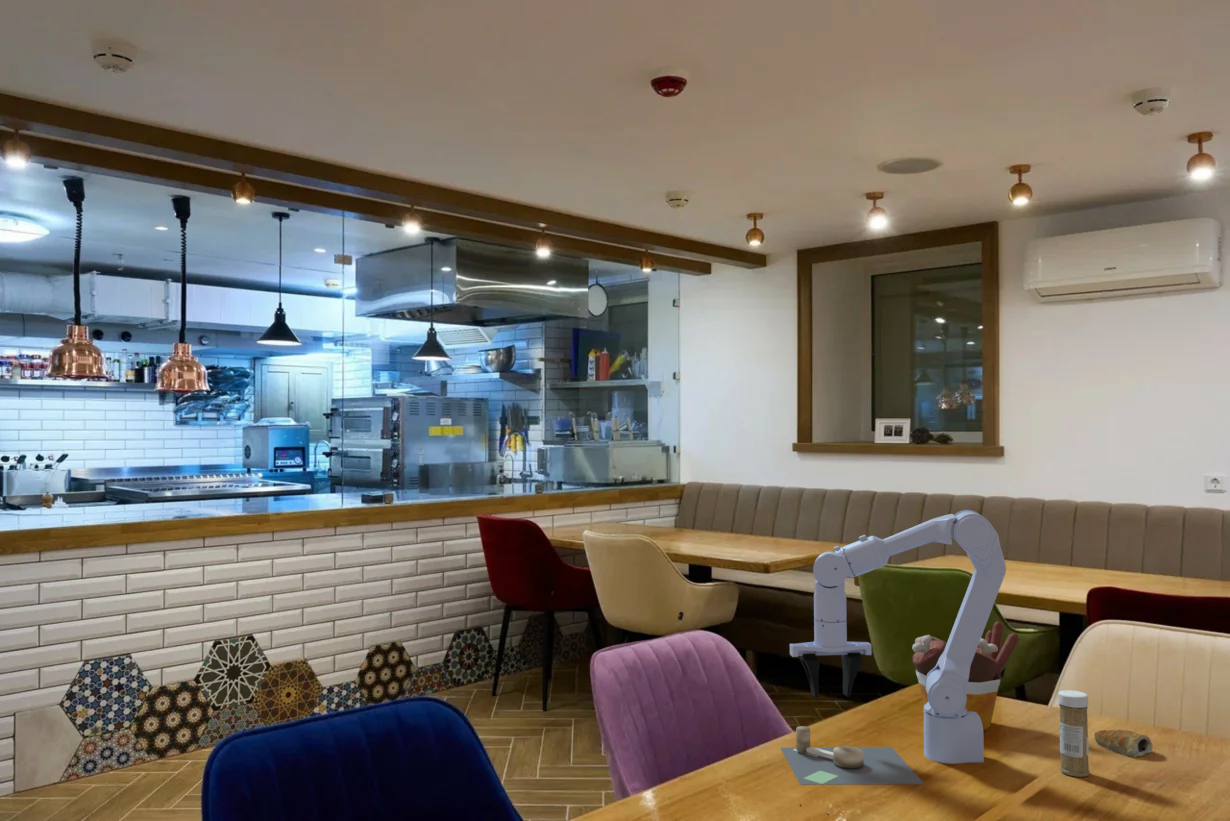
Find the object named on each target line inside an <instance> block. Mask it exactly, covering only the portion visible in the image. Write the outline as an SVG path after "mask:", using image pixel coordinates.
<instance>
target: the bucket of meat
mask: <svg viewBox="0 0 1230 821" xmlns="http://www.w3.org/2000/svg"><path fill="white" fill-rule="evenodd" d="M1004 629H1005V628H1004V624H1003V623H1002V622H1000V621H995V622H994V623H993V624H992V630H991V629H989V630H988V631H987V632H986V633H985V638H982V637H981V639H980V642H979V644H978V647H977V650H976V652H975V655H974V658H973V660H972V663H971V666H970V673H969V679H968V683H967V685H966V697H967V701H966V705H965V708H966V709H967V711H971V712H976V713H977V714H978V715H979V717H980V719H981V722H982V726H983V732H984V731H985V730H986V731H987V730H988V729H989V728H990V727H991V725H992V720H993V715H994V710H995V706H996V700H997V697H998V691H999V687H1000V684H1001V676H1002V672H1003V670H1004V669H1005V667H1006V665H1007V664H1008V662H1009V660H1010V658H1011V656H1012V654H1013V652H1014V650H1015V649H1016V646H1017V645H1018V643H1019V640H1020V638H1019V634H1017V633H1016V632H1015V633H1014V632H1012V633H1010V634H1008V635H1007V638H1006V639H1005V641H1004V644H1003V645H1002V642H1003V641H1002V640H1003V635H1004ZM946 644H947V642H946V641H945V640H943V639H939V638H938V637H935V636H931V635H930V634H926V635H923V636H919V637H917V638H915V640H914V643H913V644H912V648H911V649H912V651H913V652H914V653H913V655H912V664H913V666H914V667H915V674H916V677H917V681H918V684H919V688H920V694H921V698H922V702H923V706H924V705H926V704H927V702H928V694H927V692H926V689H925V678H926V676H927V674H928V673H929V672H930V671H931V670H932V669H933V668H934V667H935V666H936V664H937V662H938V659H939V658H940V656H941V655H942V653H943V652H944V650H945V647H946Z"/></svg>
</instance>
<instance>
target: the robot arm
mask: <svg viewBox="0 0 1230 821" xmlns="http://www.w3.org/2000/svg"><path fill="white" fill-rule="evenodd" d="M952 539H953V540H955V542H956V543H957V544H958V545H959V546H960V547H961V548H962V549H963V551H964V552H966V555H967V557H968V559H969V560H970V562H971V564H972V565H973V568H974V569H973V570H974V571H973V573H972V576H971V578H970V580H969V584H968V586H967V589H966V592H965V595H964V597H963V599H962V602H961V604H960V608H959V609H958V612H957V616H956V618H955V621H954V624H953V626H952V629H951V632H950V633H949V637H948V639H947V642H946V643H947V644H946V647H945V650H944V652H943V653H942V655H941V656H940V658H939V659H938V662H937V664H936V666H935V667H934V668H933V669H932V670H931V671H930V672H929V673H928V674H927V676H926V678H925V689H926V692H927V694H928V702H927V704H926V705H924V704H923V754H924V757H925V758H926V759H928V760H930V761H933V762H937V763H939V764H940V763H941V764H948V765H949V764H950V765H951V764H952V765H953V764H955V765H956V764H965V763H984V762H985V761H984V760H985V759H984V758H985V757H984V756H985V755H984V752H985V751H984V749H985V747H984V746H985V745H984V742H985V741H984V731H983V726H982V722H981V719H980V717H979V715H978V714H977V713H976V712H971V711H967V709H966V708H965V705H966V701H967V697H966V685H967V683H968V679H969V673H970V666H971V663H972V660H973V658H974V655H975V652H976V650H977V647H978V644H979V642H980V639H981V638H982V636H983V633H984V630H985V629H986V626H987V623H988V621H989V618H990V616H991V612H992V611H993V610H992V609H993V607H994V605H995V603H996V599H997V596H998V594H999V591H1000V588H1001V587H1002V584H1003V581H1004V579H1005V575H1006V574H1007V573H1006V572H1007V565H1006V561H1005V558H1004V554H1003V551H1002V550H1003V549H1002V548H1001V547H1002V546H1001V543H1000V536H999V533H998V532H997V531H996V529H995V528H994V527H993V525H992V523H991V522H990V521H989V520H988V519H987V518H986V517H985V516H983V515H981V514H980V513H978V512H977V511H975V510H971V509H963V510H960V511H958V512H956V513H955V514H953V513H949V514H945V515H942V516H938V517H934V518H932V519H929V520H927V521H924V522H921V523H920V524H917V525H915V526H912V527H910V528H907V529H905V530H902V531H901V532H897V533H895V534H893V535H890V536H888V537H885V538H879V537H878V536H876V535H870V536H867V535H866V534H863V535H860V536H858V540H856V541H854V542H851V543H848V544H847V545H843V546H841V547H840V545H836V546H834V547H833V551H825V552H823V553H822V552H821V553H820V554H819V555H818V556H817V557H816V559H815V561H814V563H813V566H812V568H813V569H812V573H813V576H814V578H815V580H814V586H813V587H814V591H815V592H814V593H813V617H814V618H813V624H814V625H813V632H814V634H813V636H814V638H813V641H810V642H809V641H808V642H799V643H789V655H790V656H791V657H792V658H798V659H799V660H800V663H801V665H802V666H803V669H804V671H805V673H806V676H807V680H808V683H809V687H810V693H811V696H812V697H814V698H816V699H817V698H819V695H820V689H819V688H820V687H819V684H820V683H819V678H820V677H819V676H820V665H821V662H820V660H818V657H817V656H840V659H841V665H842V666H841V667H842V694H843V695H844V696H846V697H851V696H852V690H853V686H854V682H855V678H856V677H857V675H858V672H859V670H860V668H861V667H862V664H863V661H864V658H863V657H862V655H865V656H872V644H871V643H870V642H868V641H847V640H848V639H847V638H848V633H847V632H848V631H847V630H848V628H847V625H848V624H847V594H846V592H845V582H846V581H845V580H846V578H852V579H853V578H856V577H858V576H861V575H864V574H866V573H867V574H868V573H869V572H871V571H874V570H878V569H880V568H883V567H886V565H887V564H888V561H889V559H890V557H891V556H894V555H897V554H900V553H903V552H907V551H909V550H912V549H915V548H919V547H922V546H924V545H928V544H930V543H939V544H940V543H941V544H945V545H950V546H952V545H953V541H952Z"/></svg>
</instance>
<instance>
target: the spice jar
mask: <svg viewBox="0 0 1230 821" xmlns="http://www.w3.org/2000/svg"><path fill="white" fill-rule="evenodd" d="M1057 695H1058V706H1059V752H1060V766H1059V770H1060V772H1061V773H1063V774H1065V775H1068V776H1070V777H1074V778H1075V777H1077V778H1083V777H1088V776H1089V774H1090V769H1089V764H1090V763H1089V755H1090V750H1089V748H1090V746H1089V736H1088V735H1089V733H1088V732H1089V730H1088V729H1089V728H1088V726H1089V724H1088V722H1089V721H1088V720H1089V719H1088V706H1089V695H1088V694H1087V693H1085V692H1082V691H1078V690H1070V689H1069V690H1067V689H1065V690H1061V691H1059V692H1058V694H1057Z"/></svg>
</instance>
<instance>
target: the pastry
mask: <svg viewBox="0 0 1230 821" xmlns="http://www.w3.org/2000/svg"><path fill="white" fill-rule="evenodd" d="M1093 736H1094V740H1095V741H1096V743H1097V744H1098V745H1099V746H1101V745H1102V746H1101V747H1103V748H1104V747H1105V749H1106V748H1107V749H1106V750H1108V749H1109V750H1108V751H1111V750H1112V751H1111V752H1113V751H1114V753H1116V752H1117V754H1119V753H1120V755H1122V754H1124V755H1123V756H1125V755H1127V756H1126V757H1129V756H1132V757H1131V758H1136V757H1135V756H1141V757H1143V756H1144V755H1147V753H1148V754H1150V753H1152V751H1153V743H1152V740H1151V738H1150V737H1149V736H1148V734H1144V735H1143V734H1140V733H1138V732H1136V731H1132V730H1129V729H1124V730H1123V729H1111V730H1110V729H1108V730H1106V729H1102V730H1099V731H1096V732H1094V734H1093ZM1142 755H1143V756H1142Z"/></svg>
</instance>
